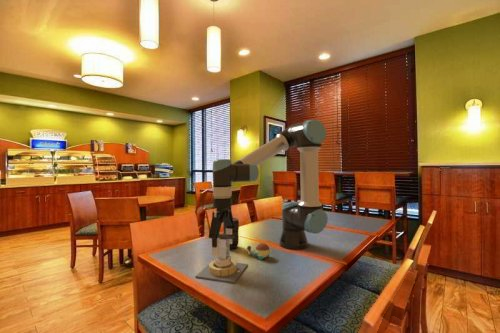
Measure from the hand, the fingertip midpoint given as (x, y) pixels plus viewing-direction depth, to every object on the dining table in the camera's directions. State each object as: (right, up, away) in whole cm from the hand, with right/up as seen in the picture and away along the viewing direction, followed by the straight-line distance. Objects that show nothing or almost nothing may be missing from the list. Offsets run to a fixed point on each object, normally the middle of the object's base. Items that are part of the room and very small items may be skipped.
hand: (222, 249), depth 96 cm
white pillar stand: (0, -8, 0) cm, 8 cm away
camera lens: (+1, -9, +28) cm, 29 cm away
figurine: (+15, -9, +15) cm, 23 cm away
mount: (0, -9, 0) cm, 9 cm away
